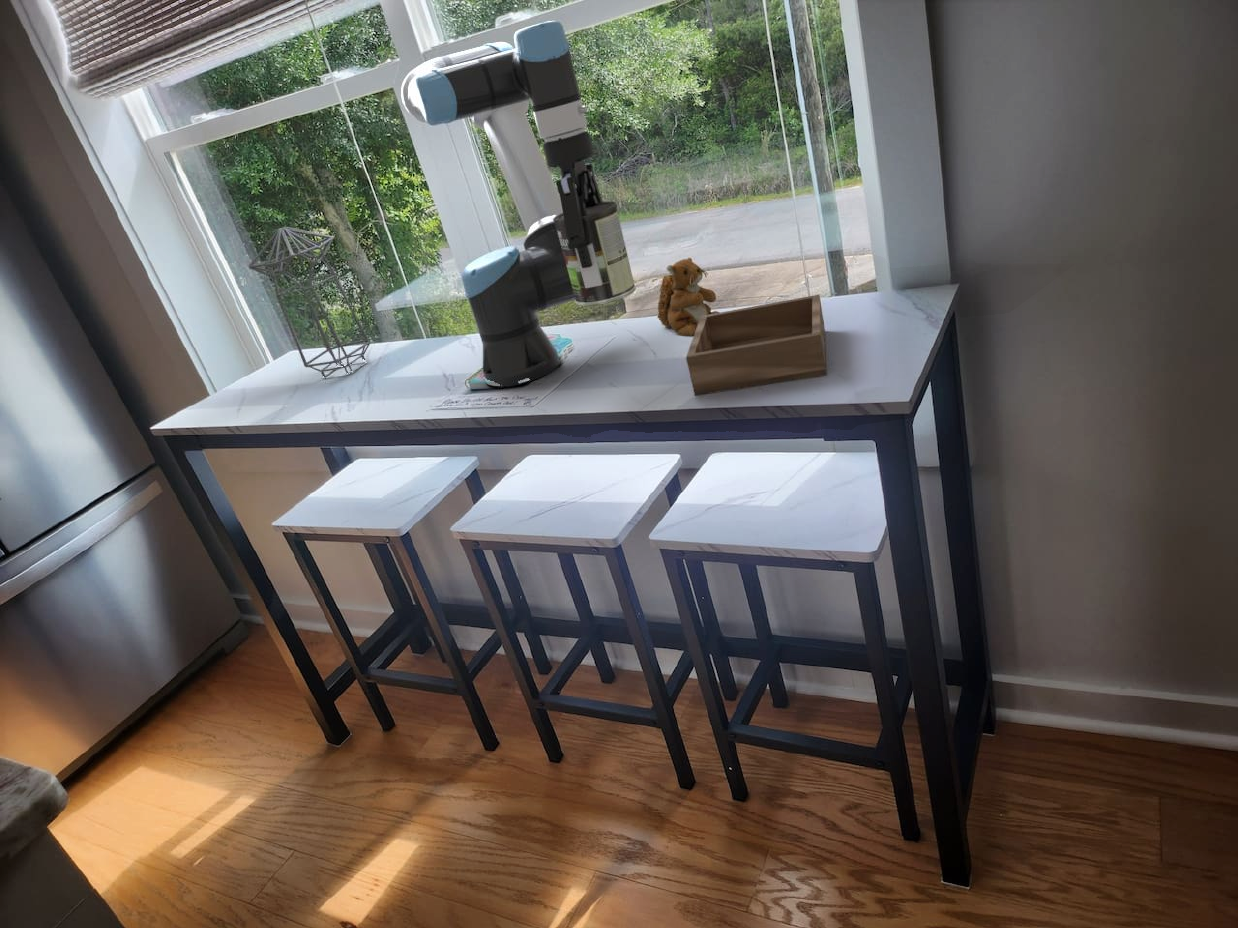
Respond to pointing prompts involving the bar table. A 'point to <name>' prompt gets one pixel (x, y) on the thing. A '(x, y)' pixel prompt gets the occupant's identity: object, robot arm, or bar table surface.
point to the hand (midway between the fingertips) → (601, 276)
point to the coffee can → (600, 257)
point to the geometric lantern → (294, 235)
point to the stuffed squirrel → (684, 298)
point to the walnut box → (758, 346)
